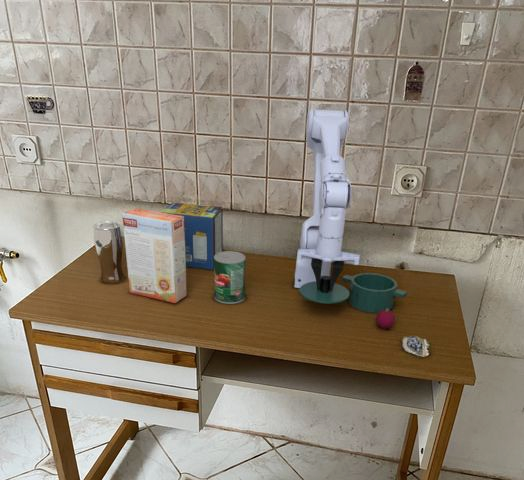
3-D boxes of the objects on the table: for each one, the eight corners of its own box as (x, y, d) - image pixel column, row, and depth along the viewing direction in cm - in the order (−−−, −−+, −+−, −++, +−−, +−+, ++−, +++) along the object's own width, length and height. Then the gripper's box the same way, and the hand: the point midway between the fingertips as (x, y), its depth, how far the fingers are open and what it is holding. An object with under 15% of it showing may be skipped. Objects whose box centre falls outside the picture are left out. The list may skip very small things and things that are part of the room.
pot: (392, 320, 126) (396, 298, 123) (331, 301, 134) (334, 280, 131) (409, 304, 134) (414, 283, 131) (351, 287, 142) (354, 267, 139)
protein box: (175, 252, 160) (172, 201, 152) (223, 257, 157) (223, 206, 149) (162, 264, 151) (159, 211, 143) (213, 270, 148) (213, 216, 141)
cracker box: (188, 296, 133) (185, 215, 122) (175, 304, 128) (171, 221, 118) (143, 284, 138) (136, 206, 127) (128, 293, 133) (120, 212, 122)
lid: (334, 310, 120) (336, 292, 118) (289, 296, 126) (291, 278, 123) (357, 293, 129) (360, 276, 126) (314, 281, 135) (316, 264, 132)
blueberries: (423, 338, 119) (425, 330, 118) (439, 356, 112) (441, 348, 111) (395, 339, 118) (397, 332, 117) (409, 357, 111) (411, 350, 110)
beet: (374, 330, 121) (377, 311, 118) (374, 322, 125) (377, 303, 122) (393, 332, 120) (397, 314, 118) (393, 324, 124) (396, 305, 122)
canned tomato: (250, 295, 135) (251, 255, 129) (235, 306, 129) (235, 265, 123) (224, 288, 138) (224, 249, 132) (208, 299, 132) (207, 258, 126)
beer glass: (94, 281, 138) (86, 226, 131) (110, 272, 144) (103, 219, 136) (116, 286, 136) (109, 231, 129) (131, 277, 142) (126, 223, 134)
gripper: (297, 237, 117) (293, 292, 124) (362, 243, 115) (354, 298, 122) (300, 228, 123) (296, 281, 130) (362, 233, 121) (354, 287, 128)
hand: (324, 289), depth 127 cm, fingers closed on lid, 2 cm apart
